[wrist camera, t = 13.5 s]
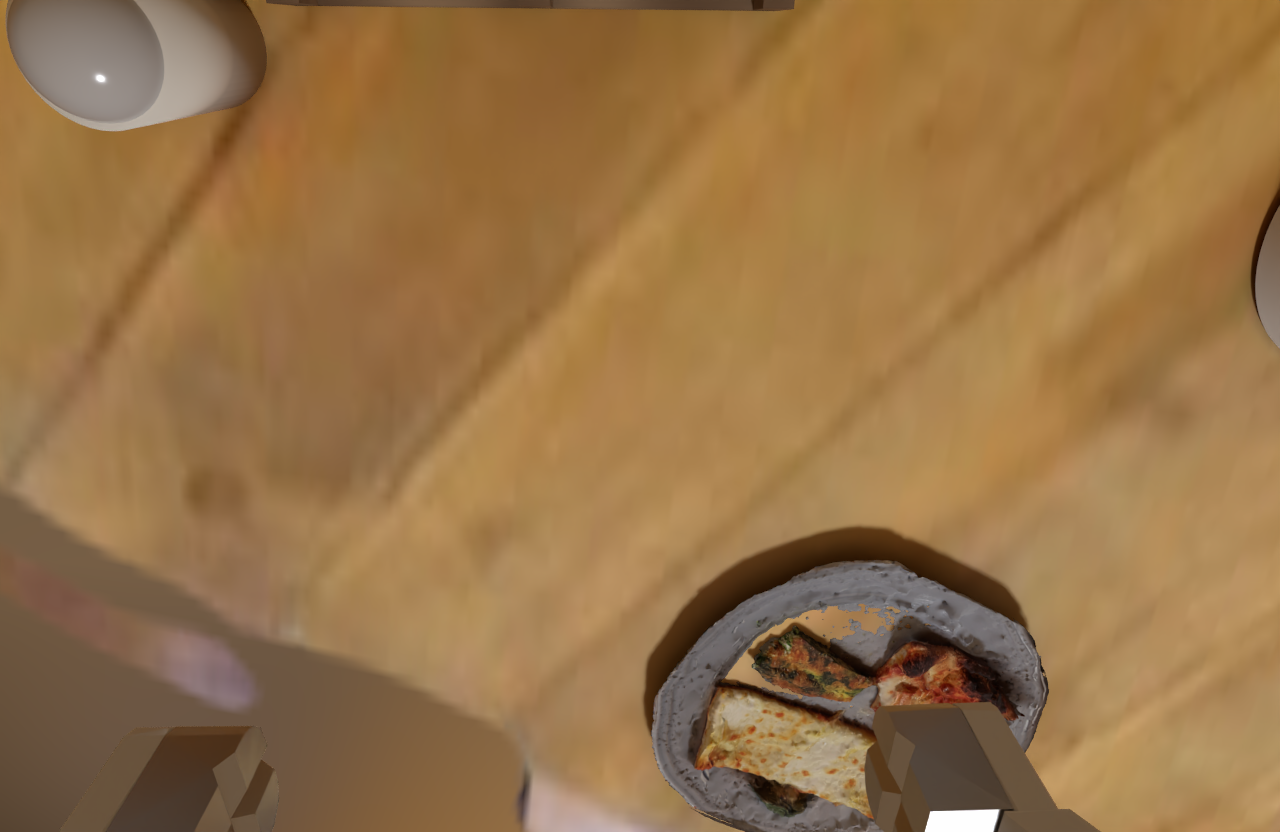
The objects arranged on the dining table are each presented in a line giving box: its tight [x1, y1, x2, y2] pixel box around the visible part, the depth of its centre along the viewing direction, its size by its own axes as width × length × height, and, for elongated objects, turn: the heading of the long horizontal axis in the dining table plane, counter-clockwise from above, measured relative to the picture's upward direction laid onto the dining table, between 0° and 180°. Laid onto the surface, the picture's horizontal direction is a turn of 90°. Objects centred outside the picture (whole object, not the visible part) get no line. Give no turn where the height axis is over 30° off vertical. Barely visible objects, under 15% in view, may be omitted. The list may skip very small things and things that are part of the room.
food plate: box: [651, 560, 1049, 832], centre depth 50 cm, size 25×23×4 cm
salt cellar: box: [6, 0, 267, 131], centre depth 28 cm, size 5×5×10 cm
